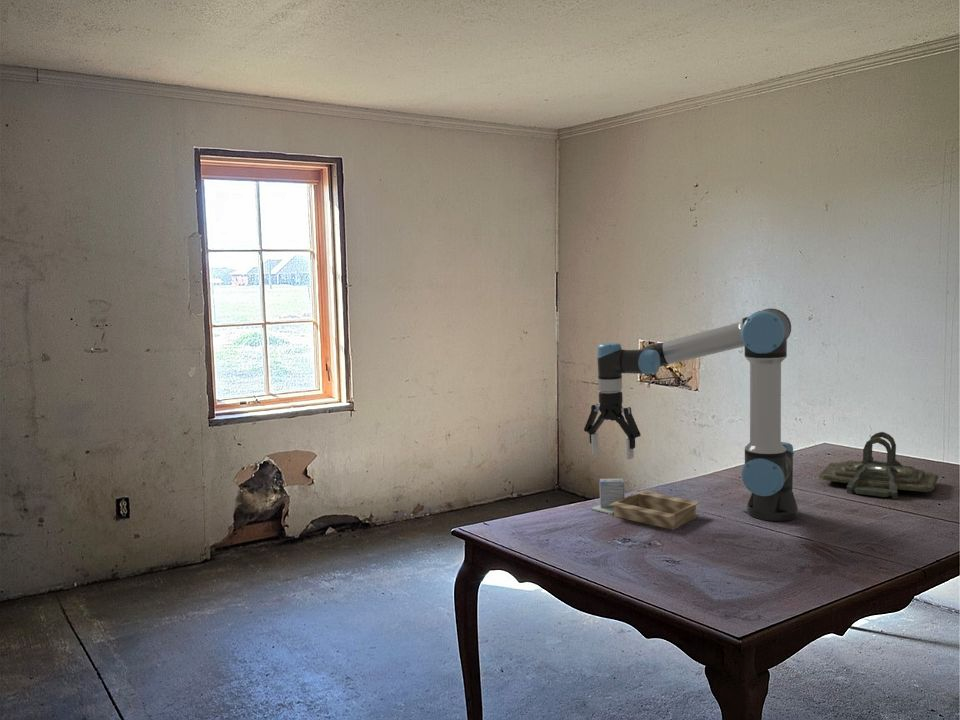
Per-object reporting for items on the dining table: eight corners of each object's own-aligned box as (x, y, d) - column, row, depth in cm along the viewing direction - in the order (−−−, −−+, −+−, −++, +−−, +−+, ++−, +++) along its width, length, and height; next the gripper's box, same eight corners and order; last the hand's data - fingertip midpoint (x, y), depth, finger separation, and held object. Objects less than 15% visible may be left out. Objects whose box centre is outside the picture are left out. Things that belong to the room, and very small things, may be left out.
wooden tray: (700, 516, 256) (700, 502, 255) (668, 531, 242) (668, 517, 242) (642, 503, 270) (642, 490, 270) (609, 518, 256) (609, 504, 256)
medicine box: (623, 503, 269) (623, 478, 268) (624, 508, 264) (624, 481, 263) (599, 503, 270) (599, 478, 268) (600, 508, 265) (599, 482, 264)
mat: (632, 505, 269) (632, 503, 269) (611, 514, 260) (611, 512, 260) (612, 501, 274) (612, 499, 274) (591, 509, 265) (591, 508, 265)
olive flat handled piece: (813, 491, 279) (814, 439, 277) (833, 468, 307) (834, 421, 305) (929, 505, 260) (931, 450, 258) (939, 480, 287) (941, 430, 285)
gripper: (650, 392, 256) (652, 458, 259) (585, 387, 274) (587, 449, 276) (637, 395, 251) (639, 463, 253) (572, 390, 268) (574, 453, 271)
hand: (612, 456), depth 265 cm, fingers open, 13 cm apart
